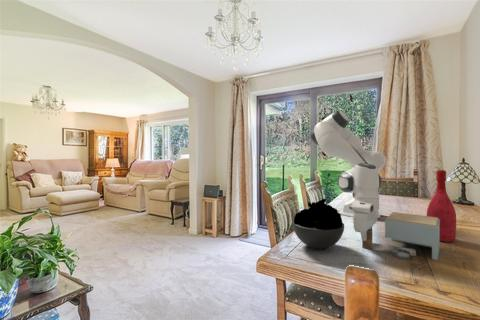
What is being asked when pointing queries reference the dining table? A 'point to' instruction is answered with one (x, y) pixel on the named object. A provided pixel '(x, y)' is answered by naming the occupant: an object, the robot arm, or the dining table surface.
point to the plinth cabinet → (414, 230)
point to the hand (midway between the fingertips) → (366, 238)
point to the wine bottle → (443, 210)
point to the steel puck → (401, 254)
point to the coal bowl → (318, 225)
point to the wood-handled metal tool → (381, 247)
